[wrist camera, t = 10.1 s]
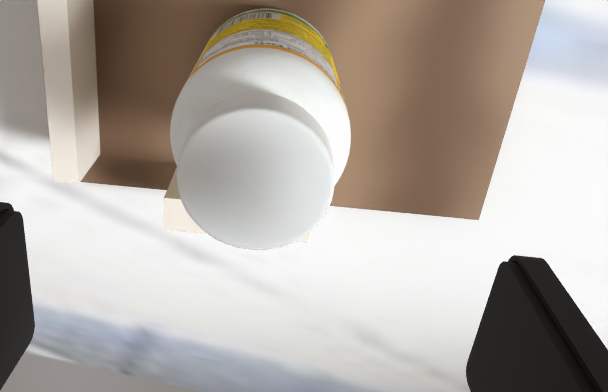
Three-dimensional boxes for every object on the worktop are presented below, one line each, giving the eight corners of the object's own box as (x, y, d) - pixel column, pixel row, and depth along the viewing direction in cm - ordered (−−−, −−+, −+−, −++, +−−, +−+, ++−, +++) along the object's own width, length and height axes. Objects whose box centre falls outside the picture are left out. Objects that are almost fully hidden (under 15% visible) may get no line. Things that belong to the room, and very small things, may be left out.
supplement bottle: (244, -23, 22) (214, 30, 13) (362, 55, 24) (408, 151, 15) (176, 96, 25) (111, 212, 15) (289, 161, 26) (289, 301, 17)
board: (604, -228, 20) (615, -233, 20) (473, 212, 28) (478, 219, 28) (55, -318, 19) (46, -326, 18) (85, 174, 27) (79, 181, 26)
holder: (344, -74, 22) (353, -69, 18) (305, 203, 27) (308, 242, 24) (60, -112, 21) (20, -115, 18) (79, 181, 26) (51, 219, 23)
